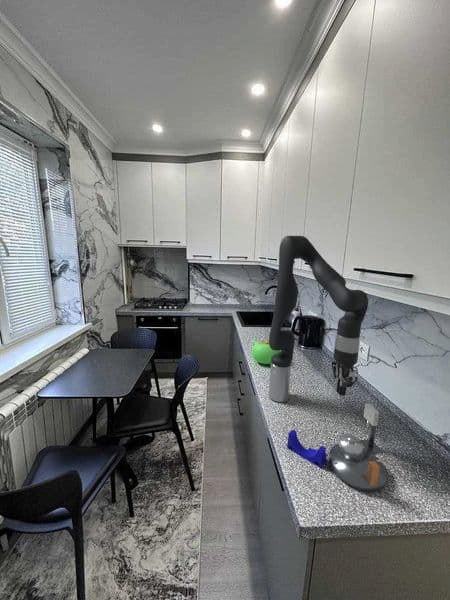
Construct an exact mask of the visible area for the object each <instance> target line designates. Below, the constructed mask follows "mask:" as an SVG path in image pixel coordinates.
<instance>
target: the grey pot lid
mask: <svg viewBox="0 0 450 600" xmlns="http://www.w3.org/2000/svg"><path fill="white" fill-rule="evenodd" d="M338 446H339V443H337V444H334V445H332V447H331V448H329V449H330V450H329V454H328V463H329V466H330V468H331V470H332V471H333V472H334V474H335V476H337V477H338V478H339V479H340V480H342V481H343V482H344V483H346V484H347V485H349V486H351V487H352V488H356V489H358V490H361V491H365V492H377V491H380V490H381V489H383V488H384V487H385V485H386V483H387V482H386V481H387V475H388V474H387V469H386V467H385V465H384V463H383V462H382V461H381V460H380V459H379V458H378V457H377V456H376V455H375V453H371V452H370V451H368V450H366V449H365V448H364V447H363V451H362V458H361V459H360V460H358V461H353V460H349V459H347V458H345V457H344V456H342V455H341V454H340V452H339V450H338Z"/></svg>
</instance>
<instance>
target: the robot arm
mask: <svg viewBox="0 0 450 600" xmlns="http://www.w3.org/2000/svg"><path fill="white" fill-rule="evenodd" d="M298 259H299V260H300V259H301V260H303V262H305V263H307V265H308V266H309V267H310V269H311V271H312V275H313V278H314V280H316V282H317V283H318V284H319V285H320V286H321V287H322V288H323V289H324V290H325V291H326V293H328V295H329V297H330V298H331V300H332V302H333V303H334V305H335V306H336V307H337V308H338V309H339V310H341V311H343V312H344V315H343V316H342V317H340V318H339V319H338V322H337V329H336V330H337V331H336V337H335V340H334V348H333V357H332V358H333V360H334V361H331V368H332V372H333V373H332V374H333V377H334V379H336V380H335V381H336V388H335V389H336V390H335V391H336V393H337V394H338V395H339V396H340V397H344V396H346V394H347V388H352V387H353V386H354V385H355V383H357V381H358V376H355V374H354V372H355V371H354V366H355V365H357V363H358V360H359V352H360V344H361V342H360V339H361V330H362V329H361V328H362V324H363V322H364V319H365V317H366V314H367V312H368V307H369V296H368V295H367V293H366V292H365V291H363V290H361V289H352V290H350V289H349V288H348V287H347V286H346V285H347V281H346V278H344V277H343V276H342V275H341V274H340V273H339V272H338V271H336V270H335V268H334V267H332V266H331V265H330V264H329V263H328V262H327V261H326V260H325V259H324V257H322V255H321V254H320V252H318V250H317V249H316V248H315V246H314V245H313V244H312V242H311V241H310V240H309V239H308V238H307V237H306V236H304V235H287V236H284V237H283V238H282V239H281V241H280V245H279V251H278V274H277V282H276V283H277V285H276V290H275V298H274V309H273V315H272V316H273V317H272V322H271V326H270V330H269V337H268V341H269V346H270V348H271V349H272V350H280V352H279V353H277V354H275V355H273V356H272V358H271V364H270V372H269V386H268V387H269V389H268V397H269V398H270V399H271V401H274V402H278V403H285V402H287V401H289V394H290V393H289V391H290V384H291V383H290V382H291V370H292V369H291V368H292V361H293V358H294V356H293V355H294V350H295V343H296V342H295V341H296V340H295V339H296V338H295V334H294V332H293V331H292V330H291V329H282V327H283V326H284V325H283V324H284V323H285V321H286V320H287V318H288V317H289V316H290V315H291V314H292V313H293V311H294V310H295V308H297V303H298V297H299V288H298V284H297V281H296V279H295V277H294V264H295V263H294V262H295V260H298Z"/></svg>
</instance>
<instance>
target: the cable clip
mask: <svg viewBox="0 0 450 600" xmlns="http://www.w3.org/2000/svg"><path fill="white" fill-rule="evenodd" d="M297 433H298V432H297V431H296V430H294V429H291V430H290V431H289V433H287V434H288V435H287V444H286V445H287V446H286V447H287V449H288V450H289V451H291V452H293V453H294V454H295V455H297V456H299V457H301V458H302V459H304V460H306V461H308V462H309V463H311V464H313V465H314V466H315V465H317V464H318V465H317V467H318V468H320V469H321V468H322V467H323V465H324V464H325V462H326V461H327V457H328V453H327V447H325V446H323V445H321V446H320V447H319V448H318V449H314V448H312V447H308V449H307V448H305V447H304V446H303V445H302V444H301V442H300V440H299V438H298V436H297Z"/></svg>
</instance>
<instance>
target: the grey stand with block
mask: <svg viewBox="0 0 450 600" xmlns="http://www.w3.org/2000/svg"><path fill="white" fill-rule="evenodd" d="M363 411H364V412H363V418H365V419H366V421H367V422H366V428H365V429H366V430H365V435H368V433H369V437H368V439H360V440H361V442H362V443H363V448H364V449H366V450H368V451H370V452H371V453H372V454H383V453H384V451H383V450H382V449H381V448H380V447H379V445H377V443H375V438H376V433H377V432H376V431H377V426H378V423H379V417H380V411H379V410H378V409H376V408H375V407H374V406H373V405H372V404H371V403H365V404H364V410H363ZM369 426H370V430H369Z"/></svg>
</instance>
